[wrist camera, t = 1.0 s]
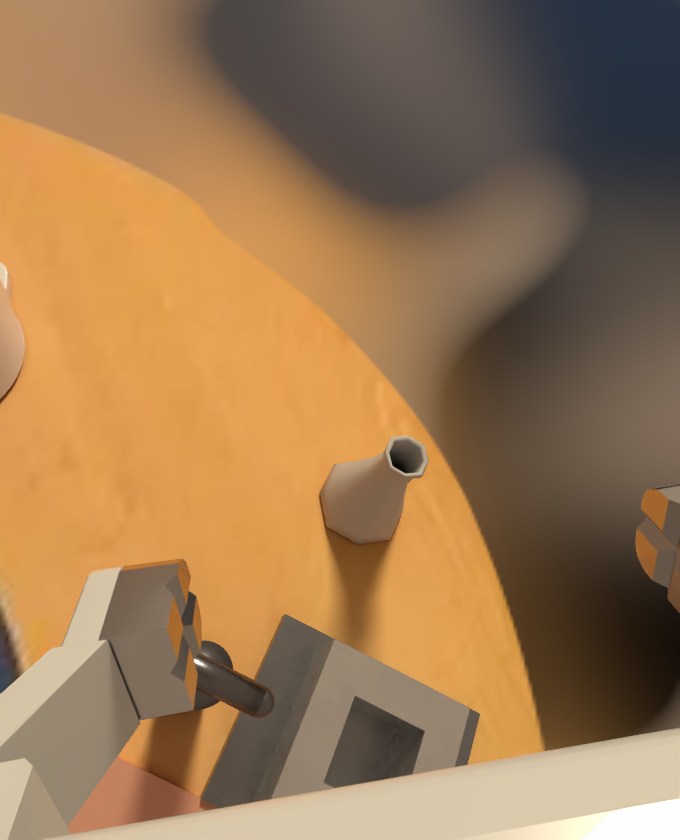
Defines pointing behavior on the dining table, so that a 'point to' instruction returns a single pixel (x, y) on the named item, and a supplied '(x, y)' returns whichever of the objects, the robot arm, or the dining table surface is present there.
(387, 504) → the flask
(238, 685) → the chuck key
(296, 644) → the block
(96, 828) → the key mat
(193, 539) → the dining table surface
